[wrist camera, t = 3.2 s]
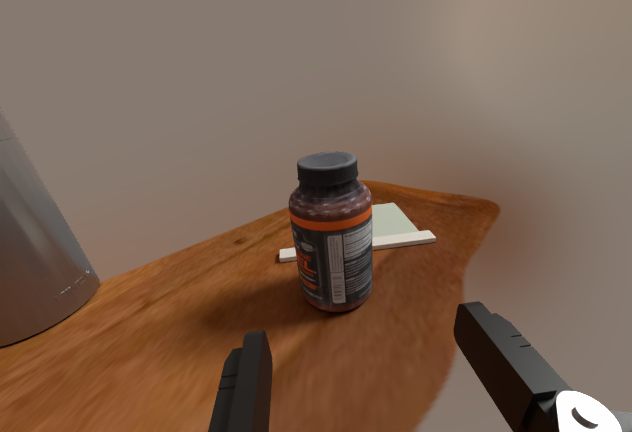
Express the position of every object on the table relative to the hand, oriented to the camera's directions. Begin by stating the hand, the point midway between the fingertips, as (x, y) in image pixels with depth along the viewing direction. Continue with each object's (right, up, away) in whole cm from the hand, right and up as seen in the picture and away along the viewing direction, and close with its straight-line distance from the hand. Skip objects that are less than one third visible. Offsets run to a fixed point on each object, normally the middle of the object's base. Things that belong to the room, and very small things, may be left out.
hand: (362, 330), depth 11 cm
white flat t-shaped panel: (+2, +3, +20) cm, 20 cm away
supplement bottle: (0, -2, +12) cm, 12 cm away
